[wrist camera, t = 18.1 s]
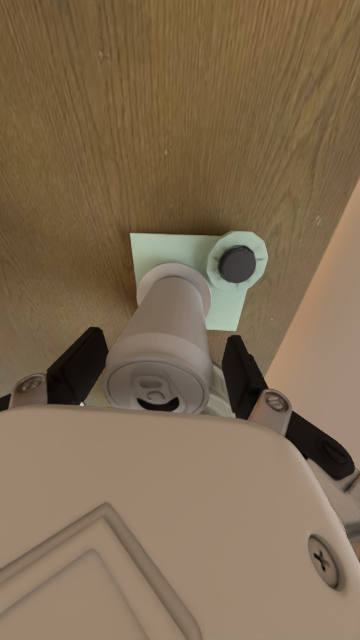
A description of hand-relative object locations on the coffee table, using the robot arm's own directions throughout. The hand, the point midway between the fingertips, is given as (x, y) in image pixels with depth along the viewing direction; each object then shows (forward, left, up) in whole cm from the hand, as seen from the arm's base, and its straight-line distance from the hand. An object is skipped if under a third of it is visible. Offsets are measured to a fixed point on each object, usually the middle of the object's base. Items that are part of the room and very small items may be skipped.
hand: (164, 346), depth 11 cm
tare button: (-6, -4, -9) cm, 12 cm away
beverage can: (0, 0, -8) cm, 8 cm away
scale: (-2, -1, -11) cm, 11 cm away
